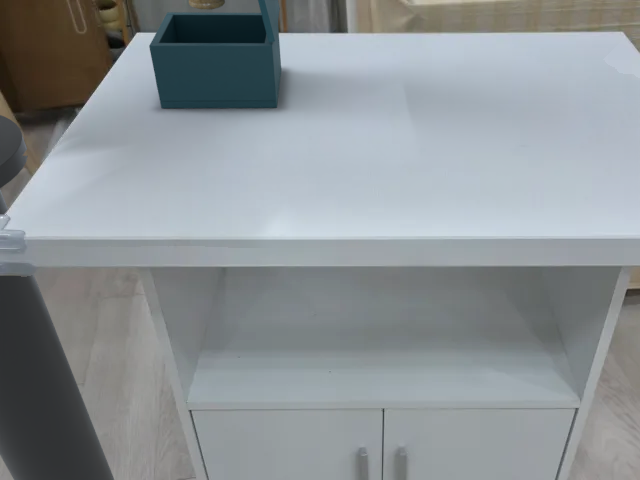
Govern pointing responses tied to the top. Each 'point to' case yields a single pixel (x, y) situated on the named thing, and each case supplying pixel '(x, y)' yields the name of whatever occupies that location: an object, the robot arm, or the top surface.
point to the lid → (270, 17)
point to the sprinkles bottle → (206, 4)
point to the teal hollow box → (215, 61)
